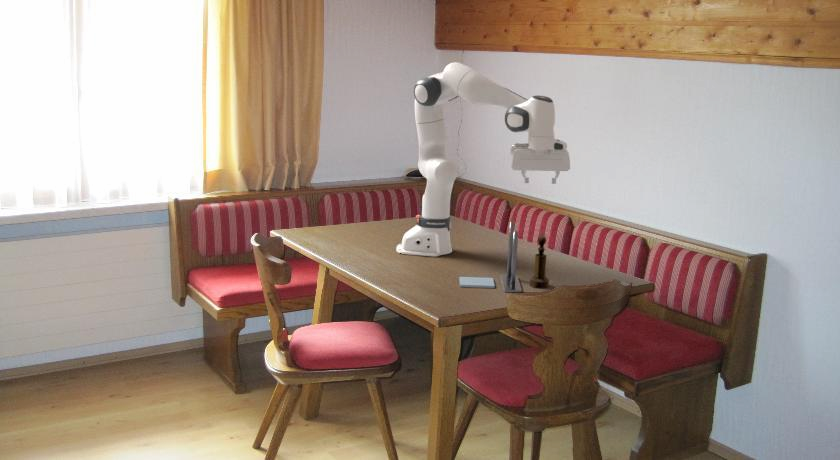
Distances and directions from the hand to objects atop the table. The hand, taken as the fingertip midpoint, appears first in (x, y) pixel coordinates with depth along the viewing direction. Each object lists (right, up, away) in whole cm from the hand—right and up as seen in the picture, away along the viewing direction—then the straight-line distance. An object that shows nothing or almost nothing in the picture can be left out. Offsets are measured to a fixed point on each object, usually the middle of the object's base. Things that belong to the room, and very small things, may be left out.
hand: (540, 183), depth 299 cm
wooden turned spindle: (0, -36, +4) cm, 36 cm away
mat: (-22, -35, +4) cm, 42 cm away
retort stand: (-10, -36, +4) cm, 37 cm away
